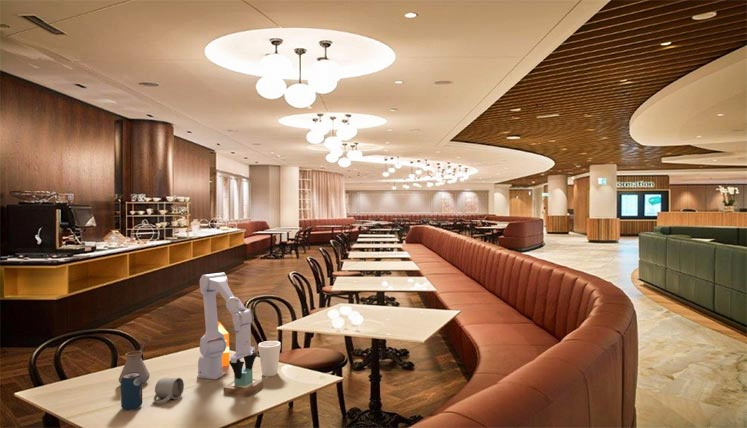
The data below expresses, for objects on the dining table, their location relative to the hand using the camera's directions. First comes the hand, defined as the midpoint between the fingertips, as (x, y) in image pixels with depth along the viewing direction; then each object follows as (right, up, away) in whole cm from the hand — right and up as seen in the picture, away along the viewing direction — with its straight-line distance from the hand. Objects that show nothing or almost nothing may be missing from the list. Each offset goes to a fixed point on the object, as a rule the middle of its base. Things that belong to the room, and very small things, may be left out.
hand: (243, 375), depth 192 cm
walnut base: (0, -7, 0) cm, 6 cm away
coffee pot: (-47, -6, +11) cm, 48 cm away
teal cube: (0, -3, 0) cm, 3 cm away
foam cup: (+6, -6, +18) cm, 20 cm away
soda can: (-36, -7, -16) cm, 40 cm away
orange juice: (-20, -5, +30) cm, 37 cm away
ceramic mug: (-27, -7, -8) cm, 29 cm away
